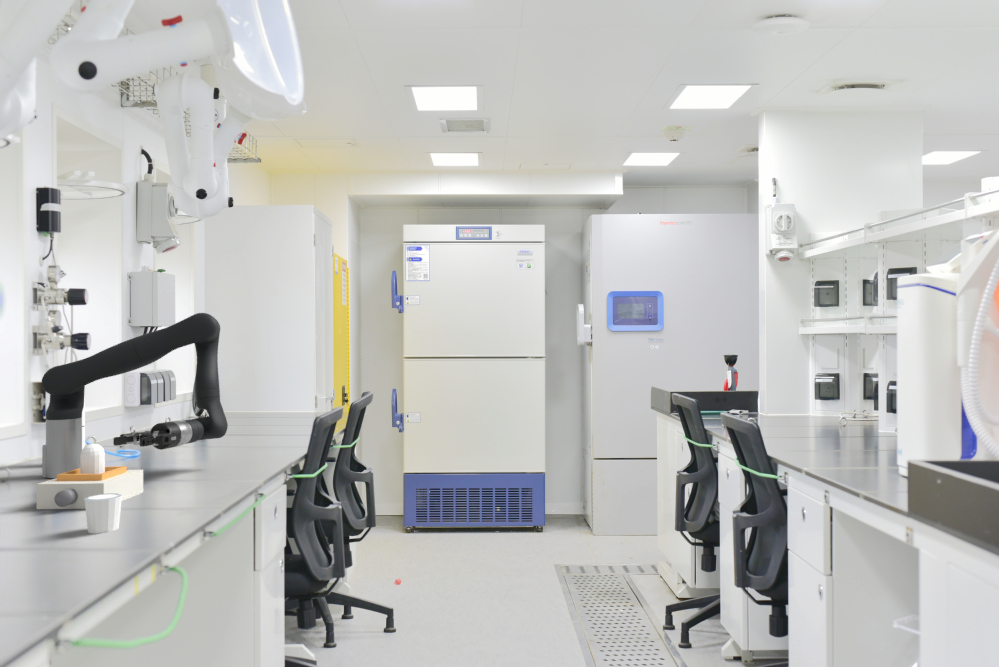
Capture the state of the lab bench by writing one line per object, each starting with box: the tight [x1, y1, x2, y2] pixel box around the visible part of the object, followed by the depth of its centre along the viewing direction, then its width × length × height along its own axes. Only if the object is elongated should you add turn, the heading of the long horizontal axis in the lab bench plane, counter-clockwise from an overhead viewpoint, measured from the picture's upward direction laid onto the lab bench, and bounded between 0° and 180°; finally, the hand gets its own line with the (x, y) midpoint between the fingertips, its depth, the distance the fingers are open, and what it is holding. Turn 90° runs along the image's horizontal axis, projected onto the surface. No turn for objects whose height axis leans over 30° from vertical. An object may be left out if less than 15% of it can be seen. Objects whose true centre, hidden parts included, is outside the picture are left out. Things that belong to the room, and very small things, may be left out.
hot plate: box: [36, 466, 144, 510], centre depth 170 cm, size 16×21×8 cm
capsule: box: [80, 443, 106, 474], centre depth 172 cm, size 5×5×8 cm
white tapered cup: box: [85, 493, 123, 534], centre depth 144 cm, size 7×7×7 cm
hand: (127, 442), depth 183 cm, fingers open, 8 cm apart
